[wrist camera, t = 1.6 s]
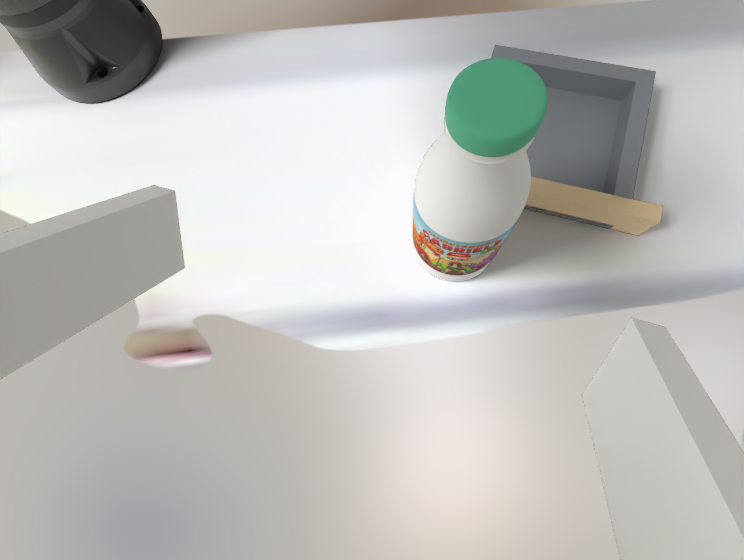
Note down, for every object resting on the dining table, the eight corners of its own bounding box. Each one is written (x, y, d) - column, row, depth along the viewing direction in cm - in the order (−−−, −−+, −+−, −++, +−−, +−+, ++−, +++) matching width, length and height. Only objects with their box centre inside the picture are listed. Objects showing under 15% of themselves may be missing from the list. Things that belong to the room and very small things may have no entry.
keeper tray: (428, 185, 38) (429, 168, 35) (465, 66, 41) (470, 40, 38) (638, 235, 35) (661, 221, 32) (661, 101, 38) (684, 76, 35)
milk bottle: (408, 213, 38) (403, 41, 18) (486, 203, 37) (565, 14, 18) (418, 288, 36) (425, 181, 16) (500, 278, 35) (608, 155, 16)
